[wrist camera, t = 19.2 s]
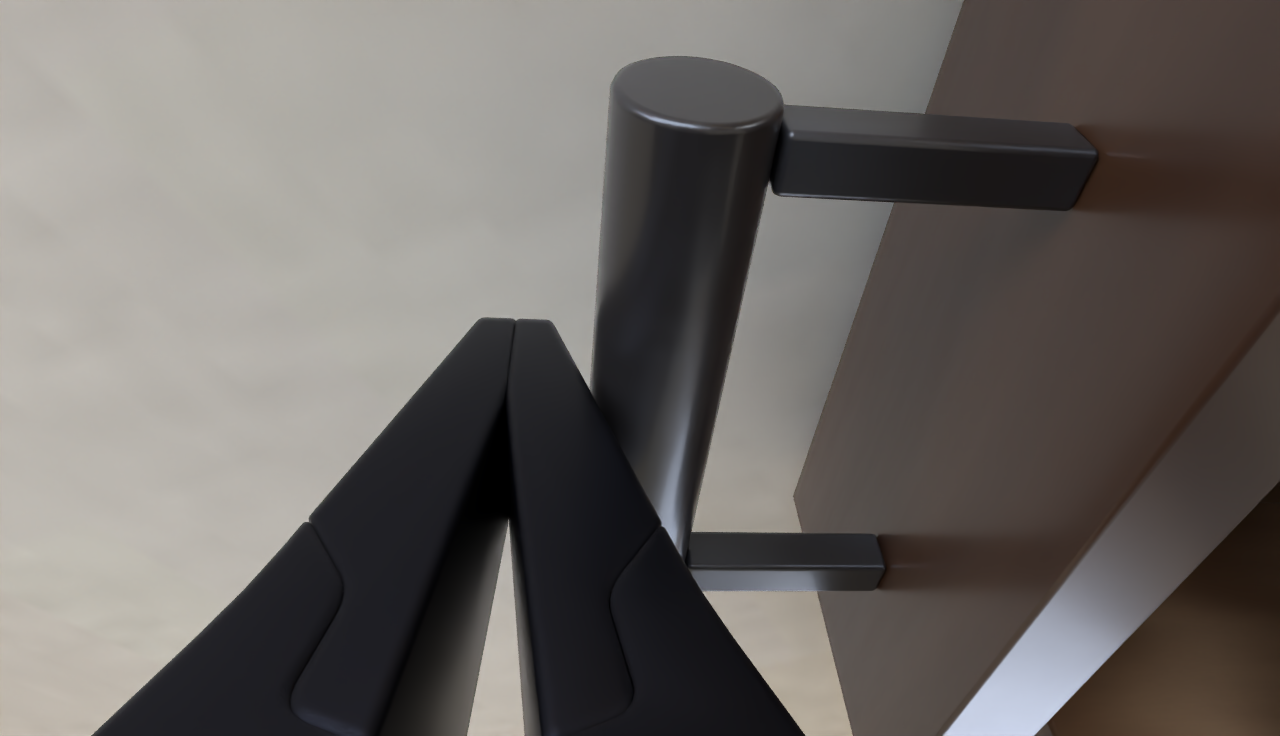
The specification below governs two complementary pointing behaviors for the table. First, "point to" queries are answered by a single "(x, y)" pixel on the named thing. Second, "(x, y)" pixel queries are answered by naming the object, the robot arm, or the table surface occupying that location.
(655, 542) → the robot arm
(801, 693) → the table surface
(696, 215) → the drawer
